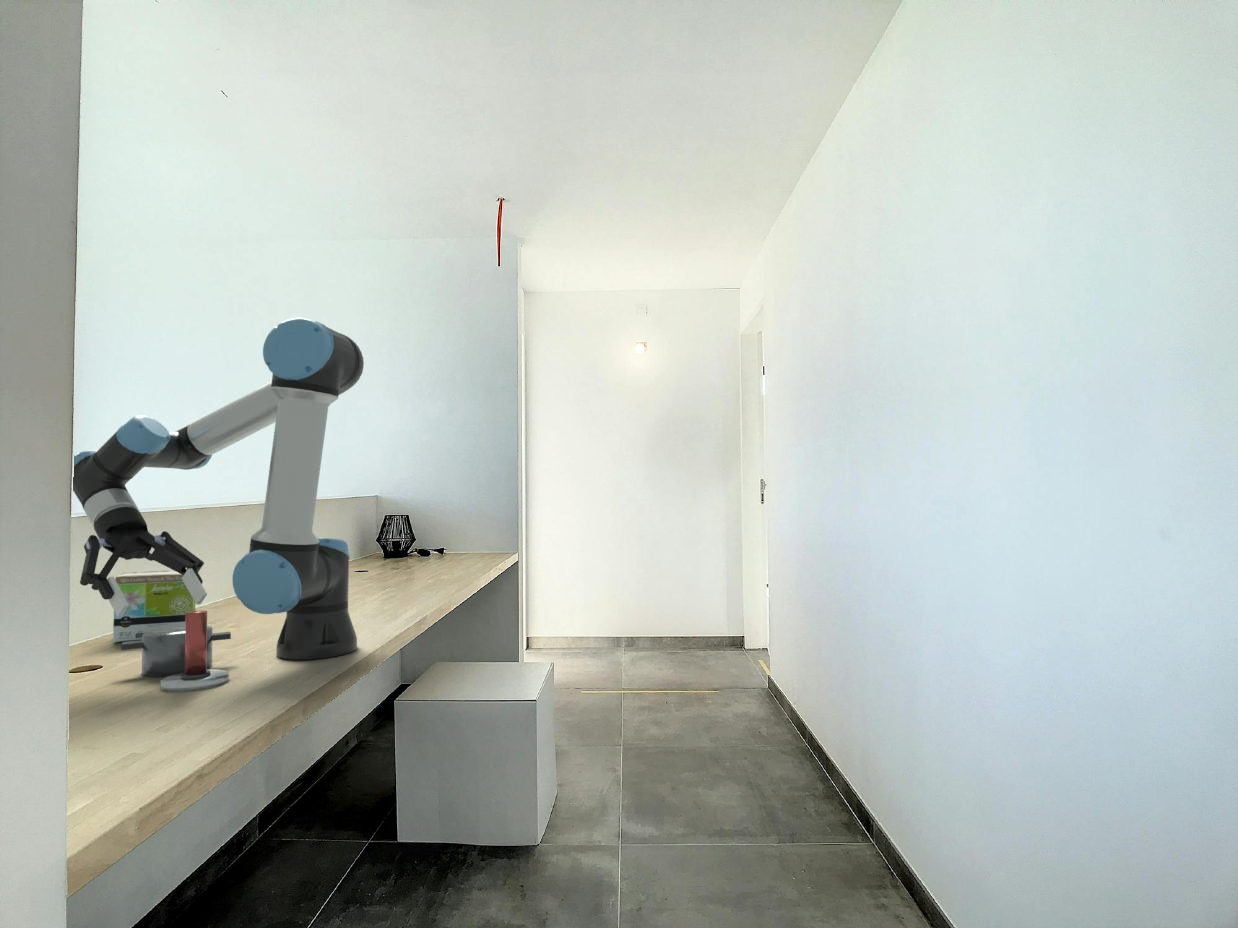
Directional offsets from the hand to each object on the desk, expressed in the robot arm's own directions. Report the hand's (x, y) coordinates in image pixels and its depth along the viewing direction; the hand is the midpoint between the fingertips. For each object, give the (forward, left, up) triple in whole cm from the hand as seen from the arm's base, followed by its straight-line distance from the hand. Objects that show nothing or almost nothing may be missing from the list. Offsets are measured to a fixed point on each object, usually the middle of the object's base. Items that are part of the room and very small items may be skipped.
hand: (164, 605), depth 123 cm
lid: (-8, +3, -13) cm, 15 cm away
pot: (+2, -6, -13) cm, 15 cm away
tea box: (+29, -35, -13) cm, 48 cm away
